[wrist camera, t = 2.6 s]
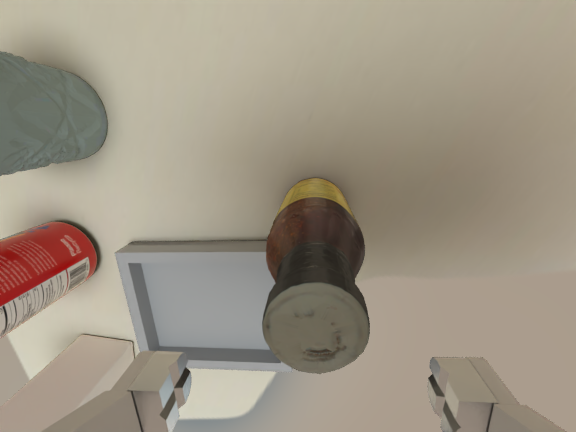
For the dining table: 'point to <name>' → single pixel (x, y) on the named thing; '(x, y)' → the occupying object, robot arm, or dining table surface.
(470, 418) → the robot arm
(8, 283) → the soda can
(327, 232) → the sauce bottle
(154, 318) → the tray
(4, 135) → the blue gray cup
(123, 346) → the milk carton
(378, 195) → the dining table surface
